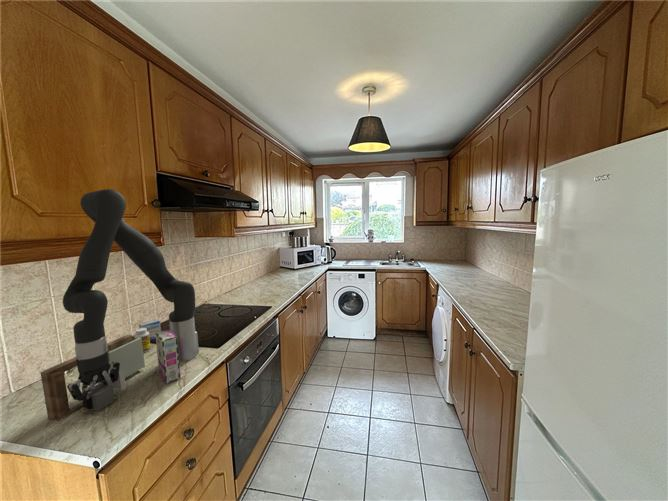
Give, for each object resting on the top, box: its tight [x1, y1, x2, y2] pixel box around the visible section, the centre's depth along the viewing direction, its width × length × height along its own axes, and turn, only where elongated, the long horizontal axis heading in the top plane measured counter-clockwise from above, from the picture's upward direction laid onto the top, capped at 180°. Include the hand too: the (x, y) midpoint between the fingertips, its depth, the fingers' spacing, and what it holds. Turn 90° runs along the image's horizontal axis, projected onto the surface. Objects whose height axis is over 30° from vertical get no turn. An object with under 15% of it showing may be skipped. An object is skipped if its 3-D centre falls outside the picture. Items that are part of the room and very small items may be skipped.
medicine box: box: [138, 318, 162, 342], centre depth 135 cm, size 8×4×9 cm, turn 143°
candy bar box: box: [155, 328, 181, 384], centre depth 102 cm, size 11×5×16 cm, turn 45°
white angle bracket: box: [97, 338, 146, 390], centre depth 98 cm, size 16×8×12 cm, turn 165°
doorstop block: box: [91, 383, 115, 412], centre depth 86 cm, size 5×6×5 cm
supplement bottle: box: [133, 328, 152, 354], centre depth 122 cm, size 6×6×10 cm
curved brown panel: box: [40, 334, 141, 422], centre depth 92 cm, size 26×4×15 cm, turn 165°
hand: (99, 402), depth 86 cm, fingers closed on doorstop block, 5 cm apart
